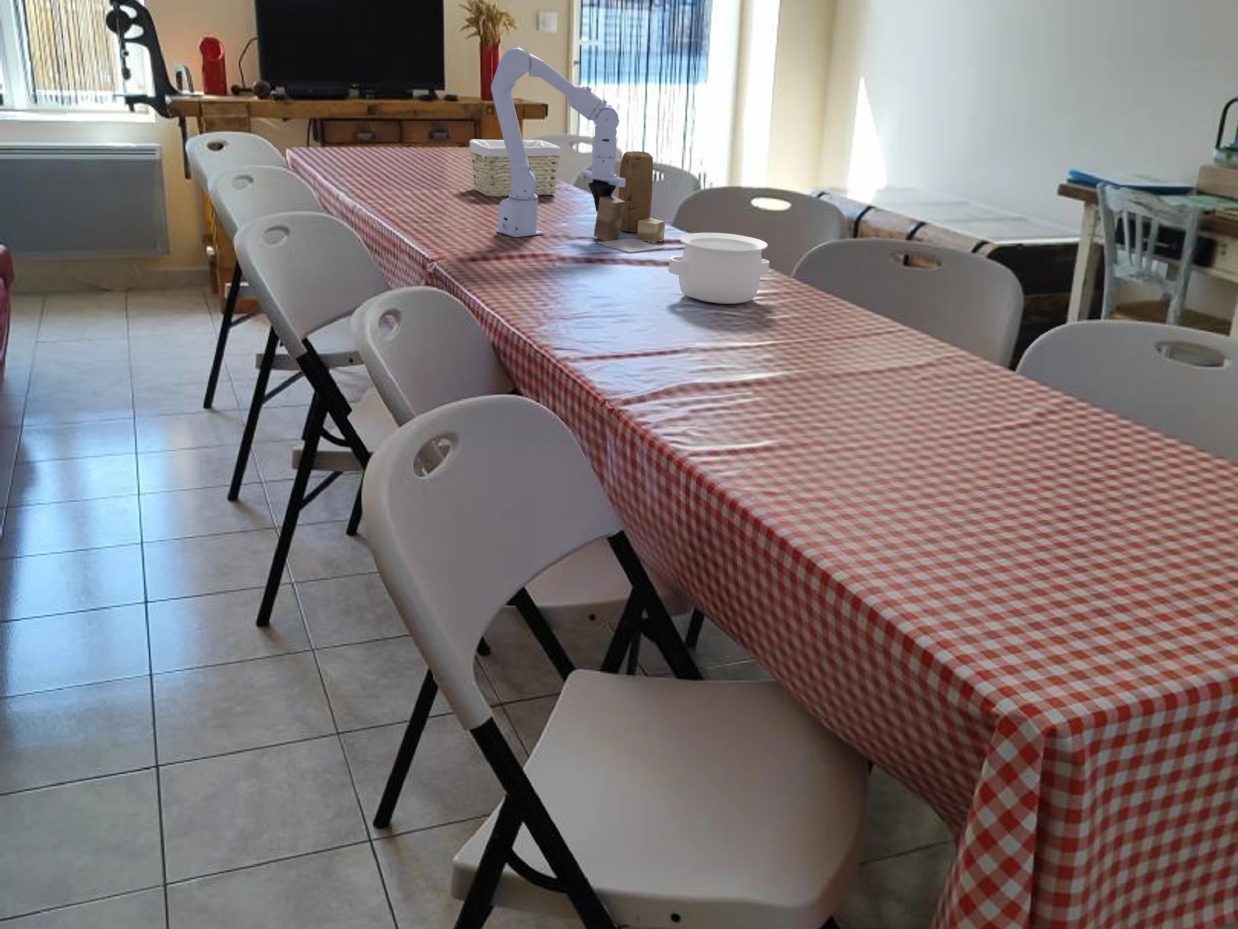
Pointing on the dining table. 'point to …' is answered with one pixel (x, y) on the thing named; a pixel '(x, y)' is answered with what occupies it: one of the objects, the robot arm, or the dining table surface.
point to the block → (636, 188)
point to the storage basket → (496, 171)
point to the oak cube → (651, 230)
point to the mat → (630, 245)
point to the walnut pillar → (609, 218)
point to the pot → (720, 267)
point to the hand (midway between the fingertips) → (600, 211)
